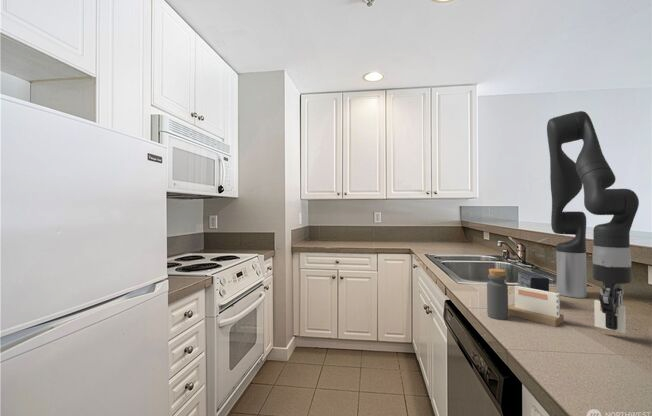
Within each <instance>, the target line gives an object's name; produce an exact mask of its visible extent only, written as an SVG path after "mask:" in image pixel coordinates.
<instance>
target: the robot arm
mask: <svg viewBox="0 0 652 416" xmlns="http://www.w3.org/2000/svg"><path fill="white" fill-rule="evenodd" d="M546 124H547V125H546V134H547V135H546V136H547V137H546V138H547V143H548V151H549V152H548V153H549V162H550V163H549V165H550V167H549V168H550V170H549V173H550V174H549V179H550V181H549V182H550V191H551V192H550V193H551V217H550V218H551V219H550V224H551V230H552V232H553V233H554V234H558V235H571V236H574V235H575V236H574V238H572V239H570V240H568V241H564V242H559V243H557V244H556V245H555V251H556V253H555V255H556V258H555V260H556V293H559V294H560V296H564V297H569V298H577V299H578V298H581V299H585V298H587V296H588V295H587V293H588V289H587V284H588V283H587V282H588V281H587V280H588V279H587V277H588V276H587V247H586V246H587V244H586V240H587V239H586V237H587V216H586V213H584V212H583V211H564V209H565V208H566V206H567V205H568V204H569V203H571V201H573V199H575V197H577V196H578V195H579V194H580V192H581V191H582V190H583V197H584V198H583V202H584V203H583V204H584V207H585V210H586V211H587V212H589V213H590V214H593V215H595V216H612V218H611V220H610V221H608V222H605V223H600V224H596V225H595V226H594V228H593V246H592V247H593V249H592V278H593V279H594V280H596V281H598V282H602V287H601V286H600V288H599V293H600V294H599V296H598V299H599V300H598V301H600V304H601V308H602V312H603V313H604V314H605V317H606V328H609V329H613V330H616V329H617V315H618V307H620V305H623V300H624V294H625V290H624V288H622V287H621V285H628V284H629V285H630V284H631V283H632V282H633V281H632V278H633V277H632V276H633V275H632V254H631V248H630V246H631V245H630V233H631V232H630V231H631V229H632V227H633V223H634V219H635V218H636V215H637V213H638V209H639V206H640V205H639V204H640V200H639V197H638V195H637V194H636V192H635V191H633V190H632V189H630V188H610V187H612V186H614V184H615V182H616V180H617V179H616V175H615V173H614V172H613V170H612V168H611V166H610V165H609V163H608V161H607V159H606V158H605V156H604V154H603V151H602V148H601V144H600V141H599V138H598V135H597V133H596V129H595V126H594V124H593V122H592V119H591V117H590V115H589V114H588V113H587V112H586V111H583V110H579V111H574V112H571V113H566V114H562V115H558V116H554V117H552V118H550V119H548V121H547V123H546ZM580 140H582V141H583V144H582V147H581V150H580V152H579V153H578V156H577V159H576V160H575V161H574V160H573V159H572V158H570V157H569V156H568V155H567V154H566V153H565V151H564V150H563V149H562V148H563V147H562V146H563V144H566V143H567V144H568V143H571V142H575V141H580ZM582 188H583V189H582ZM608 308H609V309H608ZM609 329H608V330H609ZM613 330H612V331H613Z"/></svg>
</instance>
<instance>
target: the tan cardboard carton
mask: <svg viewBox="0 0 652 416" xmlns="http://www.w3.org/2000/svg"><path fill="white" fill-rule="evenodd" d="M560 297H561V295H560V294H559V293H557V292H552V291H549V292H548V291H542V290H537V289H531V288H526V287H520V286H518V285H514V303H511V304H508V316H512V317H517V318H520V319H524V320H528V321H532V322H535V323H540V324H542V325H543V324H544V325H547V326H551V327H557V326H558V325H560V324H562V323H564V321H565V319H564V318H565V317H564V314H562V313H561V298H560Z"/></svg>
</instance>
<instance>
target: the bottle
mask: <svg viewBox="0 0 652 416" xmlns="http://www.w3.org/2000/svg"><path fill="white" fill-rule="evenodd" d="M488 273H489V274H488V275H487V278H488V279H489V281H488V282H486V299H487V300H486V303H487V304H486V307H487V308H486V309H487V311H486V312H487V313H486V314H487V316H488V317H489V318H491V319H495V320H502V321H503V320H508V319H509V315H508V306H509V286H508V284H507V283H506V282H505V281H506V280H507V276H506V270H504V269H501V268H489V269H488Z"/></svg>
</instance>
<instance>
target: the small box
mask: <svg viewBox="0 0 652 416" xmlns="http://www.w3.org/2000/svg"><path fill="white" fill-rule="evenodd" d="M517 279H518V281H517V282H518V283H517V284H518V285H517V286H520V287H526V288H531V289H537V290H542V291H548V292H550V278H549V277H548V276H545V275H542V274H540V273H537V272H535V271H534V272H532V271H517Z"/></svg>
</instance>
